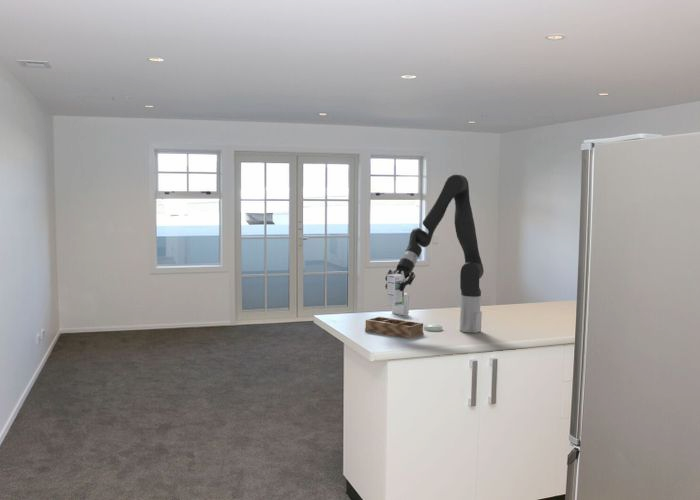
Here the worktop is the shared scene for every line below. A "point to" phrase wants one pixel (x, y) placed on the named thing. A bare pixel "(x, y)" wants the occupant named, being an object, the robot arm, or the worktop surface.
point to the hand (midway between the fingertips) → (393, 289)
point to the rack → (394, 327)
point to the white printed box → (402, 307)
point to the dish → (433, 327)
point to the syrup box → (395, 290)
